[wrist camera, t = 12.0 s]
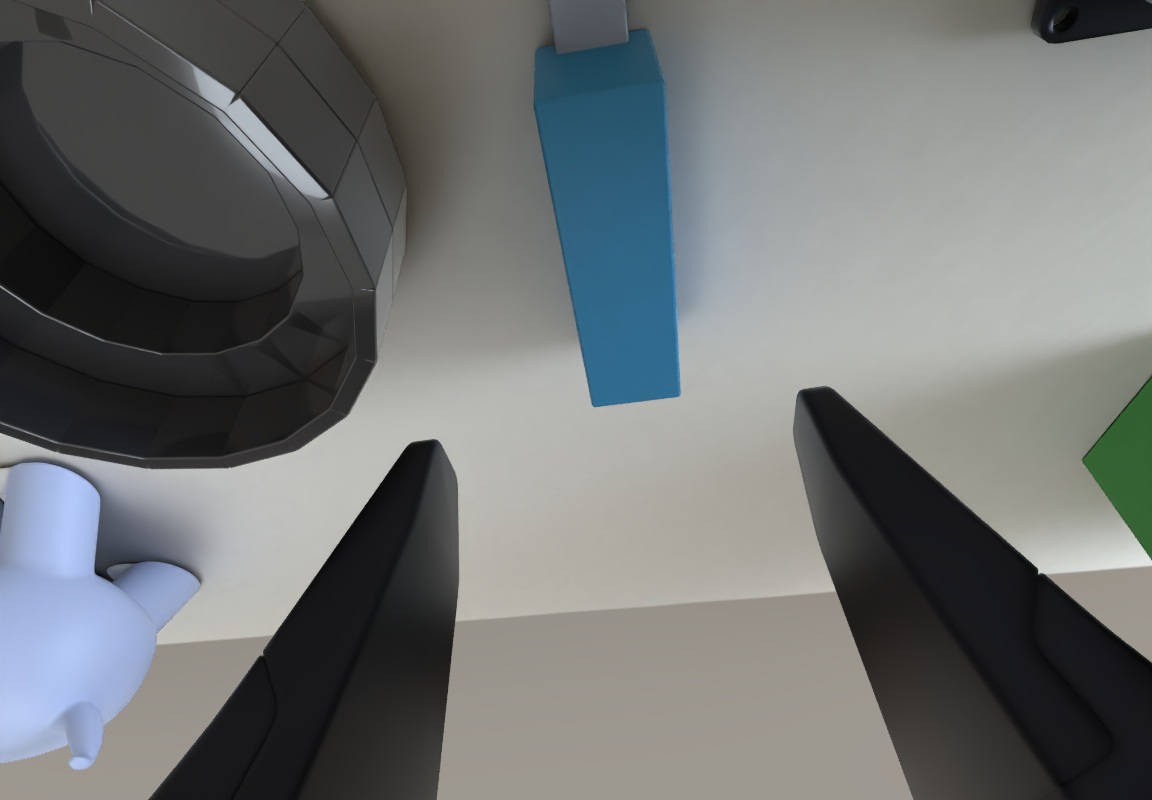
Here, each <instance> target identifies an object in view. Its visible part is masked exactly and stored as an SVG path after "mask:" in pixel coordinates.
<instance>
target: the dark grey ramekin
mask: <svg viewBox="0 0 1152 800" xmlns="http://www.w3.org/2000/svg"><path fill="white" fill-rule="evenodd" d="M406 193H407V183H406V177H405V175H404V172H403V169H402V166H401V164H400V161H399V158H398V155H397V153H396V150H395V147H394V144H393V142H392V139H391V136H390V133H389V131H388V128H387V125H386V122H385V120H384V117H383V114H382V111H381V109H380V106H379V103H378V101H377V98H376V97H375V94H374V93H373V92H372V90H371V89H370V88H369V86H368V85H367V84H366V82H365V81H364V80H363V78H362V77H361V76H360V74H359V73H358V72H357V70H356V69H355V68H354V66H353V65H352V64H351V62H350V61H349V60H348V59H347V57H346V56H345V55H344V53H343V52H342V51H341V49H340V48H339V47H338V45H337V44H336V43H335V41H334V40H333V39H332V37H331V36H330V35H329V33H328V32H327V31H326V29H325V28H324V27H323V26H322V24H321V23H320V22H319V20H318V19H317V18H316V16H315V15H314V14H313V12H312V11H311V10H310V8H309V7H306V5H305V3H303V2H302V1H301V0H0V433H2V434H5V435H8V436H11V437H14V438H17V439H19V440H22V441H25V442H28V443H31V444H34V445H37V446H40V447H42V448H45V449H48V450H51V451H54V452H59V453H62V454H67V455H73V456H78V457H84V458H90V459H95V460H101V461H106V462H112V463H118V464H123V465H129V466H134V467H140V468H146V469H148V468H150V469H211V468H229V467H230V468H233V467H237V466H240V465H244V464H248V463H252V462H256V461H260V460H264V459H267V458H271V457H275V456H279V455H283V454H287V453H290V452H294V451H296V450H299V449H300V448H302V447H303V446H305V445H306V444H308V443H309V442H311V441H312V440H313V439H315V438H316V437H318V436H319V435H321V434H322V433H324V432H325V431H327V430H328V429H329V428H331V427H332V426H334V425H335V424H337V423H338V422H340V421H341V420H343V419H344V418H345V417H347V416H348V415H349V414H350V412H351V410H352V408H353V406H354V404H355V403H356V401H357V399H358V397H359V395H360V393H361V391H362V390H363V388H364V386H365V384H366V382H367V380H368V378H369V376H370V375H371V373H372V371H373V369H374V367H375V365H376V363H377V360H378V356H379V352H380V348H381V344H382V340H383V336H384V333H385V329H386V325H387V321H388V317H389V313H390V309H391V305H392V301H393V297H394V293H395V289H396V285H397V281H398V277H399V273H400V269H401V265H402V262H403V258H404V254H405V247H406Z"/></svg>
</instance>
